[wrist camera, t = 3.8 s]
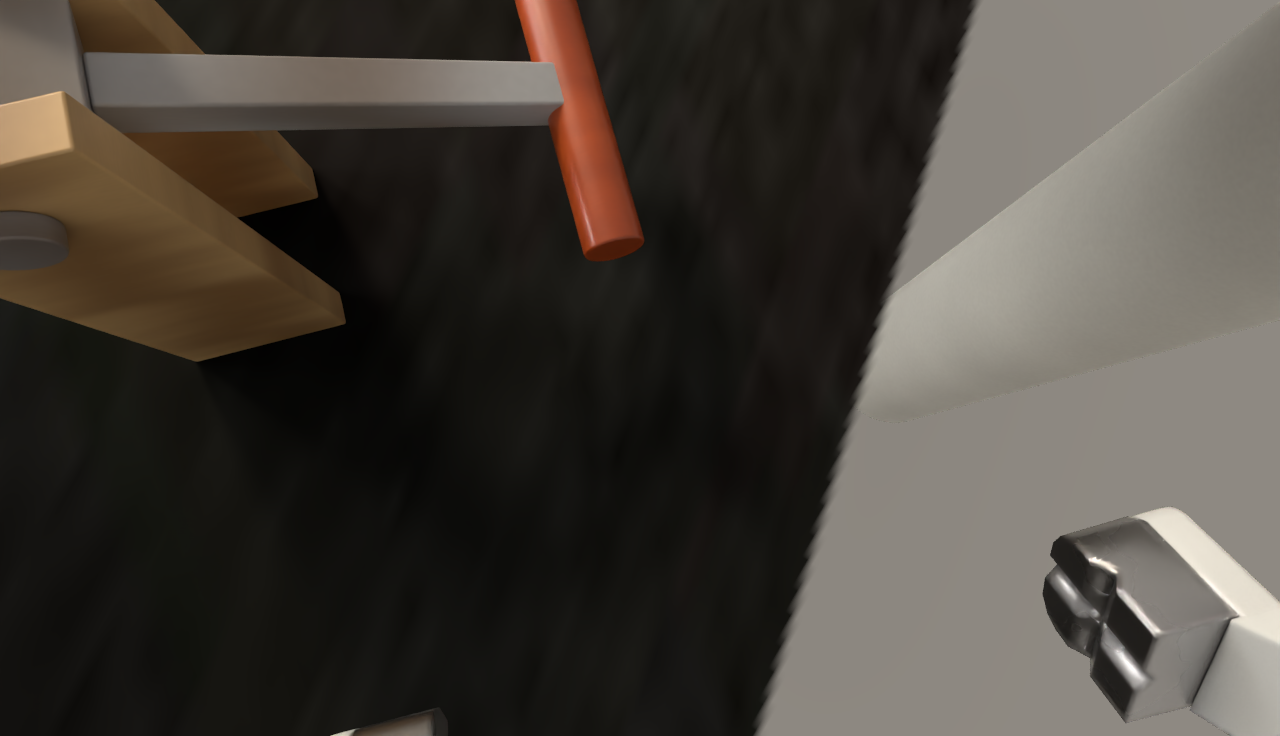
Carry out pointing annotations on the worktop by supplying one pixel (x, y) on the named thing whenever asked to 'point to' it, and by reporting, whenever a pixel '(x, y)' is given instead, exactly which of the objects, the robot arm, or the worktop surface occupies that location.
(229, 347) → the bracket
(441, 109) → the lever
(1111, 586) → the robot arm
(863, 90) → the worktop surface
